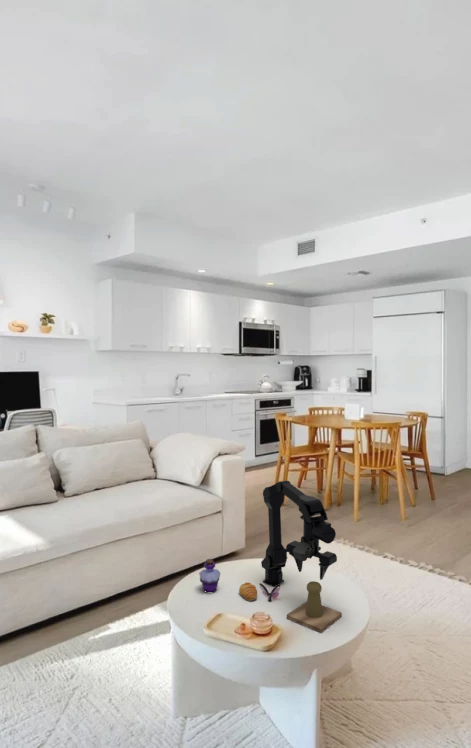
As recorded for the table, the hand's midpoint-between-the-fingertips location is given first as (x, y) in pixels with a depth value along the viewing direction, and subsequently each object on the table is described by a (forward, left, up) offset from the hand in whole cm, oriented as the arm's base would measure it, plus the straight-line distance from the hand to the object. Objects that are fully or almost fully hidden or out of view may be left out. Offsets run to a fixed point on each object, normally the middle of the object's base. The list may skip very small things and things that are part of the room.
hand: (310, 575), depth 183 cm
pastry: (-24, -7, -13) cm, 28 cm away
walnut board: (+5, -5, -12) cm, 14 cm away
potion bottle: (-38, -14, -13) cm, 43 cm away
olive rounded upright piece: (+4, -5, -11) cm, 13 cm away
